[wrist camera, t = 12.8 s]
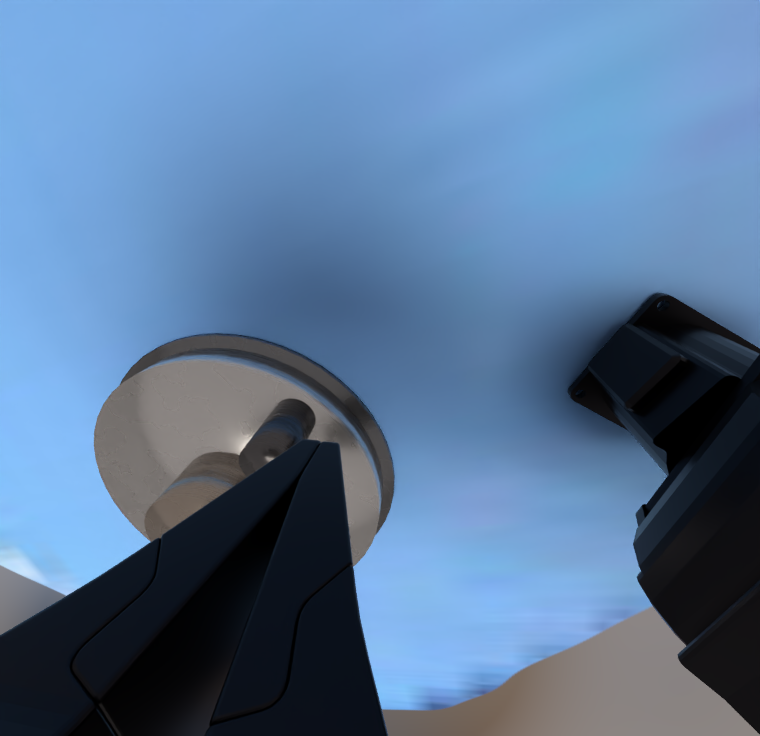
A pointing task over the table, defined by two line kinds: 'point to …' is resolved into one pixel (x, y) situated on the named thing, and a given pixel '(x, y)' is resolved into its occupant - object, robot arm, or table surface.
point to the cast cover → (193, 491)
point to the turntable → (227, 429)
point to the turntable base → (302, 365)
